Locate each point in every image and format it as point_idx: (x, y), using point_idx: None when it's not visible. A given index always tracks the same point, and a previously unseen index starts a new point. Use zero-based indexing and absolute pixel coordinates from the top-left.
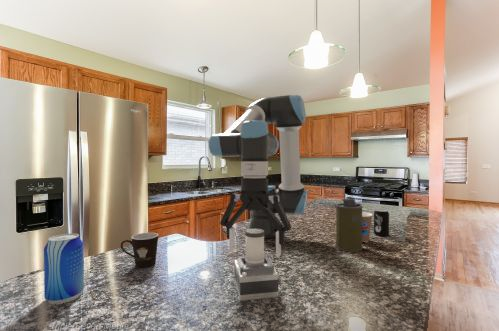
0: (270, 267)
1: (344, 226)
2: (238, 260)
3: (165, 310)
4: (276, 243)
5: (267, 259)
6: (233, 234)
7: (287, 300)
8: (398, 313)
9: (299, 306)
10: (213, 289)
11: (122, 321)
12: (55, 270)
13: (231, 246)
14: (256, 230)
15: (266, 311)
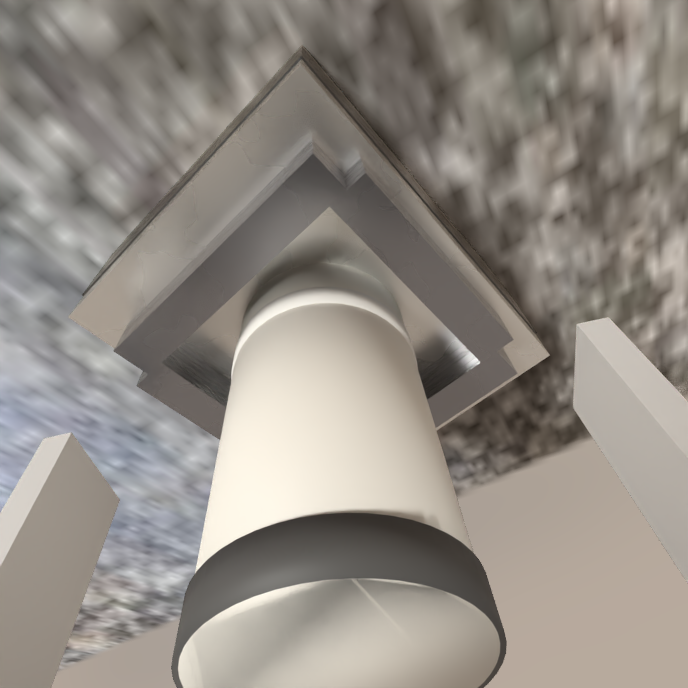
0: (498, 383)
1: None
2: (186, 411)
3: (132, 568)
4: (657, 522)
5: (406, 260)
6: (23, 648)
7: (556, 279)
8: None
9: (628, 297)
10: (129, 393)
11: (91, 638)
12: None
13: (97, 545)
14: (344, 642)
15: (483, 405)
